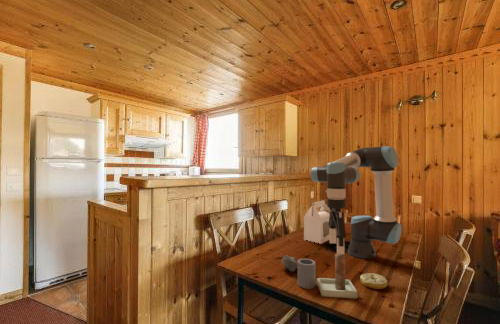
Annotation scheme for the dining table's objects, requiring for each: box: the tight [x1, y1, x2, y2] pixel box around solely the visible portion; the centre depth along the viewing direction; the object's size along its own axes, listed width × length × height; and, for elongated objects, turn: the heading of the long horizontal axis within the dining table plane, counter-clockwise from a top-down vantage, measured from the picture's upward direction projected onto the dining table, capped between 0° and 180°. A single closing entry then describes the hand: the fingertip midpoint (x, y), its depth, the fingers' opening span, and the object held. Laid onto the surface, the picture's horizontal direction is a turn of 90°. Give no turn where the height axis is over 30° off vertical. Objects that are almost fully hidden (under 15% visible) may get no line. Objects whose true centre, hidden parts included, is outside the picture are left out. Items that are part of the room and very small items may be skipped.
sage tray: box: [316, 277, 359, 299], centre depth 103 cm, size 14×11×2 cm
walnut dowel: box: [334, 253, 346, 290], centre depth 103 cm, size 5×4×14 cm
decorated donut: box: [359, 272, 388, 290], centre depth 109 cm, size 10×11×4 cm
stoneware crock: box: [296, 258, 316, 289], centre depth 109 cm, size 8×8×10 cm
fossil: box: [281, 254, 298, 272], centre depth 123 cm, size 11×9×8 cm
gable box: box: [303, 199, 331, 245], centre depth 180 cm, size 22×13×28 cm, turn 137°
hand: (336, 248), depth 104 cm, fingers open, 13 cm apart
